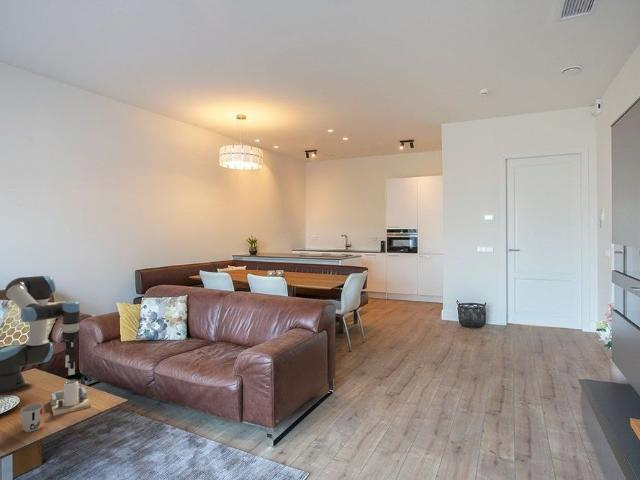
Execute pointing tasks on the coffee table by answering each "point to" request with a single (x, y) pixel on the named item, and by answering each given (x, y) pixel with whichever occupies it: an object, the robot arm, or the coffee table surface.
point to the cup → (31, 416)
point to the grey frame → (61, 394)
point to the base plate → (63, 409)
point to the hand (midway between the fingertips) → (69, 370)
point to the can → (70, 393)
